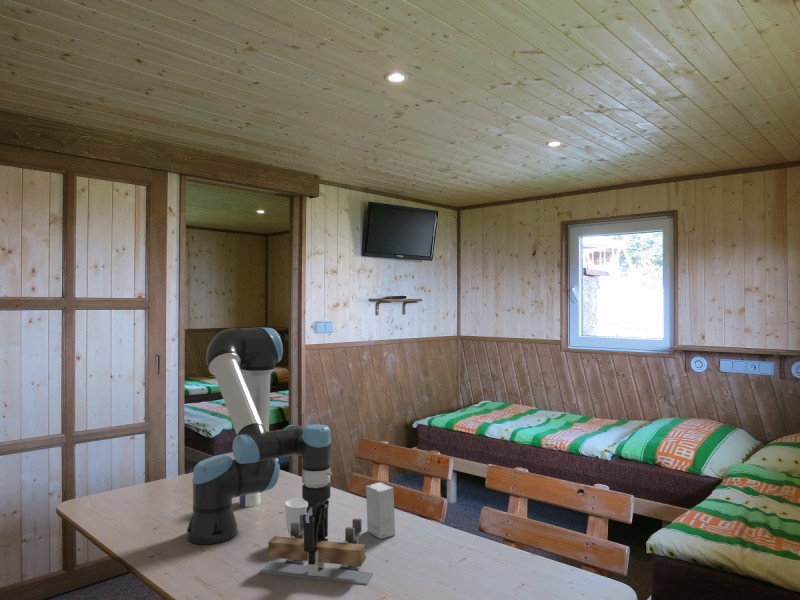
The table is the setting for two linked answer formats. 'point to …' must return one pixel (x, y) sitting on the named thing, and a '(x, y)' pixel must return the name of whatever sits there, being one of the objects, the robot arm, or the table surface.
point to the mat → (323, 573)
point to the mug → (294, 511)
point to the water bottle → (249, 500)
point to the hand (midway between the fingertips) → (316, 570)
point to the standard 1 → (297, 532)
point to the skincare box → (380, 510)
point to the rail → (326, 551)
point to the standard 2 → (353, 539)
